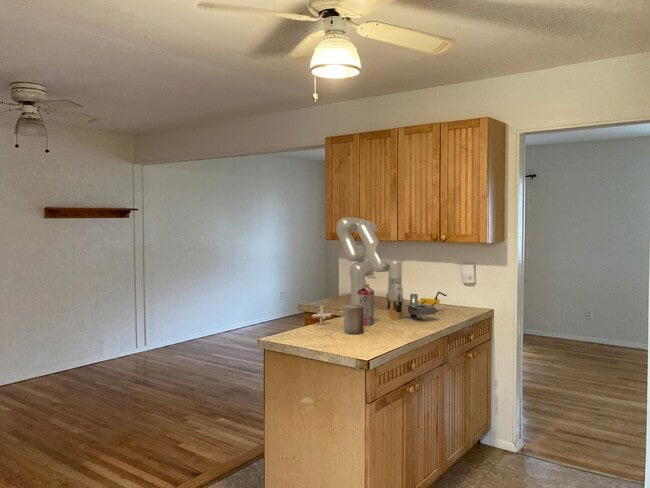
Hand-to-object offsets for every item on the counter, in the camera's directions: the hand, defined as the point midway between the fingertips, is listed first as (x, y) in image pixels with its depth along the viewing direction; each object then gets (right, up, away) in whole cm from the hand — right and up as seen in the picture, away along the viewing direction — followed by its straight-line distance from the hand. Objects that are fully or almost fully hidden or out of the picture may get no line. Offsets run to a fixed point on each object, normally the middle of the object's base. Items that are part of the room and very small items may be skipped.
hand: (394, 310), depth 293 cm
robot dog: (+27, -4, +23) cm, 36 cm away
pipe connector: (-42, -5, -19) cm, 47 cm away
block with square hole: (+13, -5, 0) cm, 14 cm away
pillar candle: (-26, -6, -37) cm, 46 cm away
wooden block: (0, -5, 0) cm, 5 cm away
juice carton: (-18, -6, -18) cm, 26 cm away
